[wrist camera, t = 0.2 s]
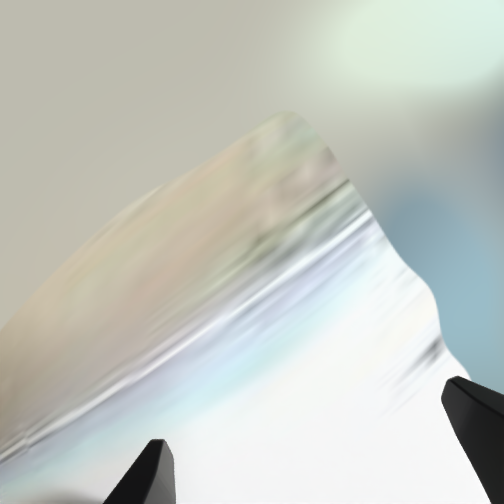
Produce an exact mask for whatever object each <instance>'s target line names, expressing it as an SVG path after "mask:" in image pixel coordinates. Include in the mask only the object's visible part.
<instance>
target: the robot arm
mask: <svg viewBox="0 0 504 504" xmlns="http://www.w3.org/2000/svg"><path fill="white" fill-rule="evenodd" d="M441 401H442V404H443V406H444V409H445V411H446V413H447V416H448V418H449V420H450V423H451V425H452V427H453V430H454V432H455V434H456V436H457V438H458V440H459V442H460V444H461V446H462V447H463V449H464V451H465V453H466V455H467V457H468V459H469V460H470V462H471V464H472V466H473V468H474V470H475V472H476V474H477V476H478V478H479V480H480V482H481V484H482V486H483V488H484V490H485V492H486V494H487V496H488V498H489V500H490V502H491V504H504V395H503V394H501V393H498V392H496V391H493V390H491V389H488V388H486V387H484V386H481V385H479V384H477V383H474V382H472V381H469V380H467V379H465V378H462V377H460V376H455V377H452V378H450V379H448V380H447V381H446V384H445V387H444V390H443V393H442V396H441ZM103 504H176V494H175V476H174V458H173V454H172V452H171V450H170V448H169V446H168V444H167V442H166V441H165V440H164V439H152V440H150V441H149V443H148V444H147V445H146V447H145V448H144V450H143V451H142V452H141V454H140V455H139V456H138V458H137V459H136V460H135V462H134V463H133V464H132V466H131V467H130V468H129V470H128V471H127V472H126V474H125V475H124V476H123V478H122V479H121V480H120V482H119V483H118V484H117V486H116V487H115V488H114V490H113V491H112V492H111V493H110V495H109V496H108V497H107V499H106V500H105V501H104V503H103Z"/></svg>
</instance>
